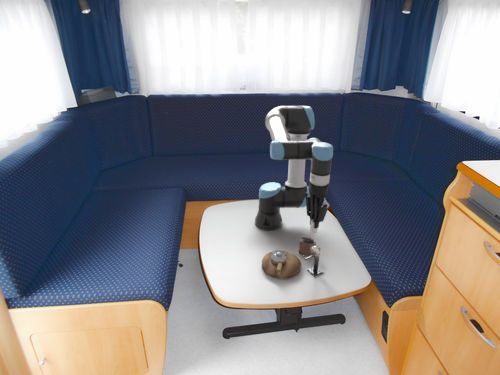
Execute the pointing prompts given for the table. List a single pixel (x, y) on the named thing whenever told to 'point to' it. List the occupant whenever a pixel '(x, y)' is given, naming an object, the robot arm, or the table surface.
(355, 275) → the table surface
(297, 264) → the turntable
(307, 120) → the robot arm
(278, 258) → the cover
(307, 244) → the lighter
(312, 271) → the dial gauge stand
